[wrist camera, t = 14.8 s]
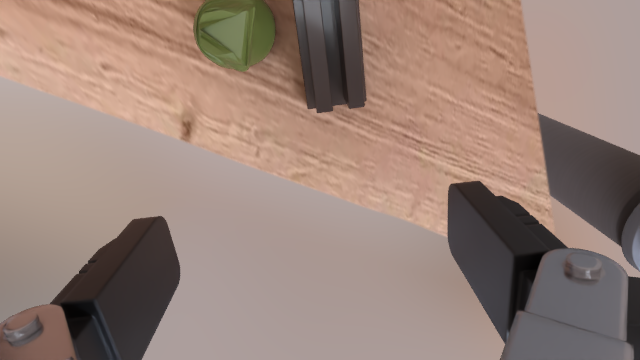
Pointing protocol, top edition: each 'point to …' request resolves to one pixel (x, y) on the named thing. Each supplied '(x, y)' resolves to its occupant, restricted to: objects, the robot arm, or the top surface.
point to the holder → (331, 53)
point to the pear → (234, 32)
